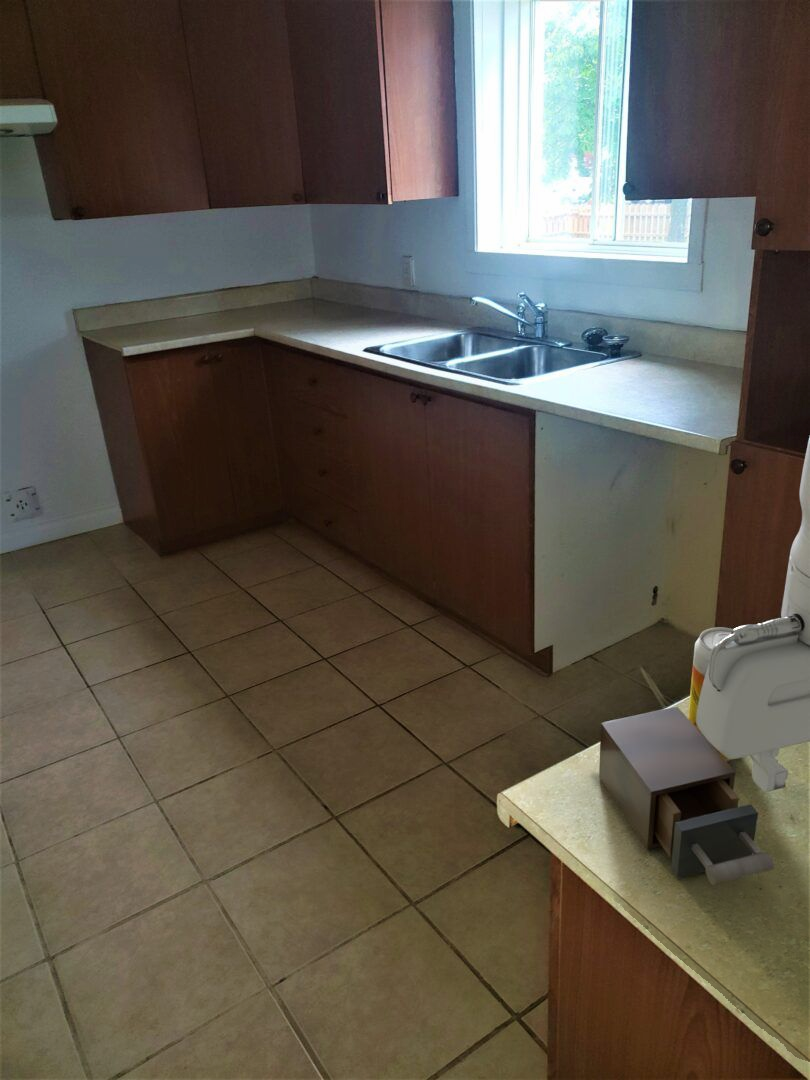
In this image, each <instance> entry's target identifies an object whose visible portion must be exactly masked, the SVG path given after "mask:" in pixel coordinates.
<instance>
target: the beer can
mask: <svg viewBox="0 0 810 1080" xmlns="http://www.w3.org/2000/svg"><path fill="white" fill-rule="evenodd" d="M733 629H734V628H730V627H723V626H721V627H719V626H717V627H716V626H715V627H710V628H707V629H705V630H703V631H702V632H701V633H700V635H699V637H698V638H697V640H696V641H695V642H694V650H693V661H692V670H691V682H690V691H689V692H690V694H689V702H688V703H689V704H688V713H687V714H688V715H687V718H688V719H689V720H690V721H691V722H692V724H693V725H694V726H695V727H696V728H697V729H698V730H699V728H698V726H697V724H696V714H697V708H698V703H699V698H700V694H701V689H702V686H703V682H704V678H705V675H706V672H707V669H708V666H709V660H710V654H711V651H712V649H713V647H714V646H715V645H717V644H719V643H720V642H721V641H722V640H723V639H725V638H726V637H728V636H730V635H731V632H732V630H733ZM699 731H700V730H699ZM700 733H701V731H700ZM701 734H702V733H701ZM702 735H703V734H702ZM703 736H704V735H703ZM704 737H705V736H704ZM708 742H709V741H708ZM709 743H710V742H709ZM710 744H711V743H710ZM711 745H712V744H711ZM712 746H713V745H712ZM713 747H714V746H713ZM714 748H715V747H714ZM715 749H716V748H715ZM716 750H717V749H716ZM717 752H718V753H719V754H720V755H721V756H722V757H723V758H724V759H725V761H726V762H729V761H731V760H732V759H729V758H727V757H725V756H724V755H723V754H722V753H720V752H719V751H718V750H717Z"/></svg>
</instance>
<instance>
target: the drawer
mask: <svg viewBox="0 0 810 1080" xmlns="http://www.w3.org/2000/svg"><path fill="white" fill-rule="evenodd" d="M739 801H740V797H739V796H738V795H737V793H736V792H735V791H734V789H733V790H732V789H731V788H730V787H729V786H728V784H727V783H726V782H725V781H724V780H723V779H722V780H718V781H714V782H710V783H705V784H701V785H697V786H693V787H689V788H684V789H680V790H676V791H672V792H668V793H663V794H659V795H656V804H655V817H654V831H653V834H654V835H655V837H656V838H657V840H658V841H659V843H660V844H661V846H660V847H662V848H663V851H665V853H666V854H667V856H668V857H669V858H671V863H670V864H671V865H670V870H671V872H672V873H673V875H674V876H675V878H676V879H680V878H681V879H682V878H684V877H689V876H692V875H696V874H700V873H704V872H705V875H706V878H707V880H708V882H709V883H710V885H713V886H714V885H715V886H716V885H720V884H723V883H727V882H730V881H734V880H738V879H742V878H745V877H749V876H753V875H757V874H761V873H764V872H768V871H772V870H774V869H775V866H776V864H775V860H774V858H773V856H772V854H771V853H770V852H768V851H762V850H761V848H759V846H758V845H757V844H756V843H755V838H756V837H755V836H756V831H757V825H758V824H757V823H758V818H759V817H758V816H759V811H758V810H757V809H756V808H755V807H754V806H753V804H752V803H749V804H745V805H740V806H739Z"/></svg>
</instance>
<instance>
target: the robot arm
mask: <svg viewBox="0 0 810 1080" xmlns="http://www.w3.org/2000/svg"><path fill="white" fill-rule="evenodd" d="M808 437H809V438H808V441H807V446H806V447H807V448H806V451H805V456H804V462H803V465H802V472H801V478H800V484H799V485H800V486H799V502H800V507H801V523H800V527H799V530H798V532H797V534H796V536H795V538H794V540H793V542H792V543H791V546H790V547H791V548H790V552H789V559H788V565H787V571H786V572H787V573H786V578H785V584H784V585H785V586H784V593H783V597H782V605H781V611H780V616H781V617H778V618H773V619H770V620H767V621H765V622H764V621H763V622H761V623H757V624H751V623H750V624H744V625H740V626H738V627H735V628H732V629H733V630H732V632H731V635H730V636H728V637H726V638H725V639H723V640H722V641H721V642H720V643H719V644H717V645H715V646H714V647H713V649H712V651H711V654H710V660H709V666H708V669H707V672H706V675H705V678H704V682H703V686H702V689H701V694H700V698H699V703H698V708H697V714H696V724H697V726H698V728H699V730H700V731H701V733H702V734H703V735H704V736H705V738H706V739H707V740H708V741H709V742H710V743H711V744H712V745H713V746H714V747H715V748H716V749H717V750H718V751H719V752H720V753H722V754H723V755H724V756H725V757H727V758H729V759H731V760H737V759H742V758H746V757H750V758H751V759H752V761H753V763H752V769H751V770H752V771H751V778H752V780H753V782H754V783H755V785H757V787H758V788H760V790H761V792H763V793H769V792H773V791H776V790H780V789H784V788H785V787H786V785H787V783H786V780H787V779H788V773H789V771H788V769H787V768H786V767H785V766H784V765H783V764H781V763H779V761H778V759H777V758H776V757H778V756H779V752H780V749H783V748H788V747H792V746H795V745H796V746H797V745H800V744H804V743H808V742H810V436H808Z"/></svg>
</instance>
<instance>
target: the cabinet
mask: <svg viewBox="0 0 810 1080" xmlns="http://www.w3.org/2000/svg"><path fill="white" fill-rule="evenodd" d="M599 739H600V740H599V767H598V768H599V769H598V770H599V771H598V777H599V780H600V781H601V782H602V784H603V786H604V787H605V788H606V790H607V792H608V793H609V794H610V796H611V797H612V799H613V800H614V802H615V804H616V805H617V807H618V808H619V810H620V811H621V813H622V814H623V815H624V817H625V819H626V820H627V822H628V823H629V825H630V826H631V828H632V829H633V831H634V832H635V834H636V835H637V837H638V838H639V840H640V841H641V843H642V844H643V846H644V847H645V849H646V850H652V849H657V848H659V847H660V848H661V847H662V846H661V844H660V843H659V841H658V840H657V838H656V837H655V835H654V834H653V831H654V817H655V804H656V795H659V794H663V793H668V792H672V791H676V790H680V789H684V788H689V787H693V786H697V785H701V784H705V783H710V782H714V781H718V780H722V779H723V780H724V781H725V782H726V783H727V784H728V786H729V787H730V788H731V789H732V790H733V791H734V789H735V788H734V787H735V781H736V773H737V772H736V770H734V768H733V767H732V766H731V764H730V763H728V761H725V759H724V758H723V757H722V756H721V755H720V754H719V753H718V752H717V750H716V749H715V748H714V747H713V746H712V745H711V744H710V743H709V742H708V740H707V739H706V738H705V737H704V736H703V735H702V734H701V733H700V731H699V730H698V729H697V728H696V727H695V726H694V725H693V724H692V722H691V721H690V720H689V719H688V716H686V714H685V713H684V712H683V711H682V710H681V709H680V707H679V706H673V707H672V706H671V707H668V708H664V709H659V710H654V711H650V712H645V713H641V714H635V715H631V716H627V717H623V718H618V719H613V720H609V721H604V722H601V723H600V737H599Z"/></svg>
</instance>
